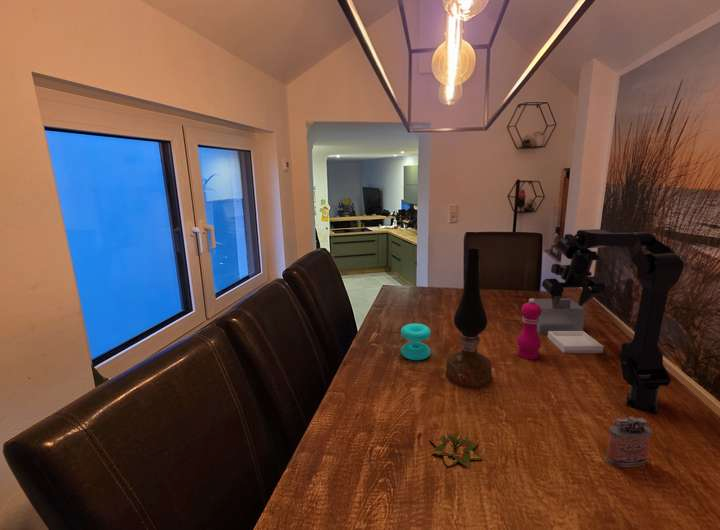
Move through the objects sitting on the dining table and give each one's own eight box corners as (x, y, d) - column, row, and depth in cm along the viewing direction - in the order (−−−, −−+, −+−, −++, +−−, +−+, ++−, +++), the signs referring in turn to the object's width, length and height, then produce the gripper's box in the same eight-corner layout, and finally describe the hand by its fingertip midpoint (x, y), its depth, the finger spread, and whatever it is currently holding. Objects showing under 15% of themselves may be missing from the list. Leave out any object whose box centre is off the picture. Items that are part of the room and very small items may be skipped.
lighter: (638, 453, 79) (644, 412, 77) (650, 465, 76) (658, 423, 74) (601, 455, 79) (607, 414, 77) (612, 467, 76) (618, 425, 74)
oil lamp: (461, 371, 122) (453, 250, 122) (505, 379, 111) (497, 247, 111) (436, 382, 113) (428, 251, 112) (482, 393, 101) (473, 248, 101)
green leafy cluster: (442, 478, 75) (442, 458, 74) (419, 439, 86) (419, 422, 85) (494, 466, 78) (495, 447, 77) (466, 430, 89) (466, 413, 88)
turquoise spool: (434, 332, 120) (403, 334, 119) (433, 360, 122) (404, 362, 122) (426, 321, 130) (398, 323, 129) (426, 347, 132) (398, 349, 131)
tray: (602, 353, 124) (603, 346, 123) (564, 353, 125) (564, 346, 124) (582, 337, 136) (583, 331, 136) (547, 337, 137) (548, 331, 136)
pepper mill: (542, 361, 120) (547, 302, 115) (518, 359, 121) (522, 301, 117) (536, 351, 127) (541, 295, 122) (514, 349, 128) (518, 294, 124)
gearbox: (582, 333, 140) (586, 300, 137) (539, 333, 140) (541, 301, 138) (566, 321, 151) (570, 291, 148) (526, 322, 152) (529, 291, 149)
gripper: (591, 253, 125) (578, 291, 133) (539, 255, 124) (528, 294, 131) (614, 269, 116) (598, 310, 123) (557, 272, 114) (545, 313, 122)
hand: (566, 306), depth 125 cm, fingers open, 9 cm apart
